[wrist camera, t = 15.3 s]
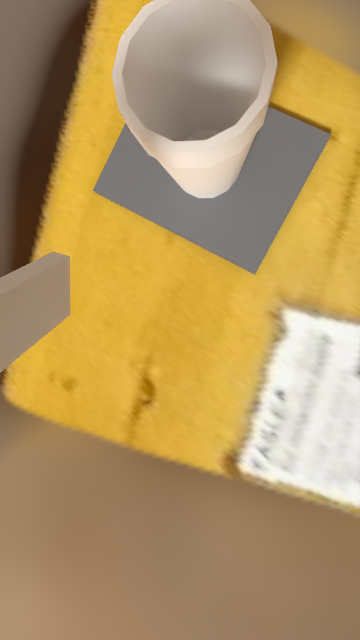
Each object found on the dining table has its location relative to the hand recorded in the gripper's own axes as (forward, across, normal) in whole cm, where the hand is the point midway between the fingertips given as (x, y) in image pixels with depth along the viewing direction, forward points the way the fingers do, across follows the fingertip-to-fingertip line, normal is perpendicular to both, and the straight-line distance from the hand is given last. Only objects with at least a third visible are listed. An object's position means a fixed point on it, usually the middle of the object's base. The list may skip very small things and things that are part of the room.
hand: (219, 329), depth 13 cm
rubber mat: (+24, -6, +3) cm, 25 cm away
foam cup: (+24, -6, +3) cm, 24 cm away
